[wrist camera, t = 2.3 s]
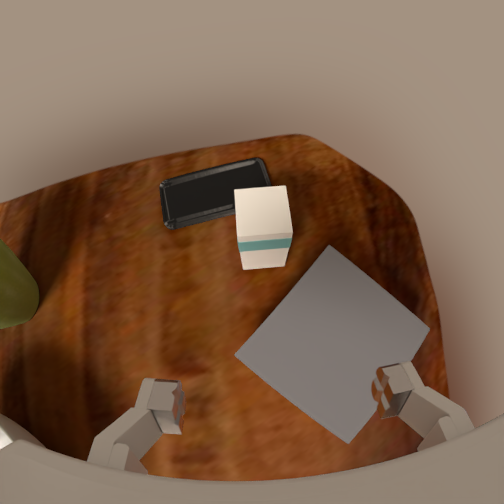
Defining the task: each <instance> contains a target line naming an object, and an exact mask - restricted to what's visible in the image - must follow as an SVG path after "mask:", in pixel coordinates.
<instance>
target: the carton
mask: <svg viewBox="0 0 504 504" xmlns="http://www.w3.org/2000/svg"><path fill="white" fill-rule="evenodd" d="M234 194H235V210H236V225H237V238H238V247H239V252H240V254H241V260H242V265H243V270H246V269H257V268H269V267H280V266H285V262H286V258H287V254H288V250H289V248H290V245H291V241H292V234H293V229H292V223H291V216H290V210H289V203H288V197H287V191H286V186H272V187H259V188H247V189H235V190H234Z"/></svg>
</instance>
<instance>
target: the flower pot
mask: <svg viewBox="0 0 504 504" xmlns="http://www.w3.org/2000/svg"><path fill="white" fill-rule="evenodd" d="M38 304H39V289H38V285H37V283H36V281H35V280H34V278H33V277H32V276H31V274H30V273H29V272H28V270H27V269H26V268H25V266H24V265H23V264H22V263H21V261H20V260H19V259H18V258H17V257H16V255H15V254H14V253H13V252H12V251H11V250H10V248H9V247H8V246H7V245H6V244H5V243H4V242H3V241H2V240H1V239H0V329H3V328H7V327H11V326H15V325H18V324H22V323H24V322H27V321H29V320H30V319H31V318H32V317H33V316H34V314H35V312H36V310H37V307H38Z"/></svg>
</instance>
